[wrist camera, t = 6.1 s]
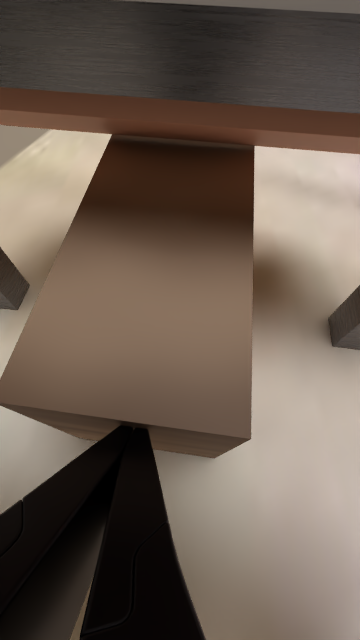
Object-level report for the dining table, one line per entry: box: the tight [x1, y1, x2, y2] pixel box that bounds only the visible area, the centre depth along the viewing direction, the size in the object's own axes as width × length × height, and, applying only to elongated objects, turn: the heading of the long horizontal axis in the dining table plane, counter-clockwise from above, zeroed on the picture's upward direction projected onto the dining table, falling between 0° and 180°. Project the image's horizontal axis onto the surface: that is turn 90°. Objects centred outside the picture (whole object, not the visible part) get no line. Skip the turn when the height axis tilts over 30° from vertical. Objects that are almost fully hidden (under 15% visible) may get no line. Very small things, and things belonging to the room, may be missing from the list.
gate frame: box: [0, 0, 360, 349], centre depth 12 cm, size 2×24×14 cm, turn 83°
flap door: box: [0, 87, 360, 154], centre depth 11 cm, size 1×18×6 cm
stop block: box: [0, 134, 254, 458], centre depth 14 cm, size 14×7×8 cm, turn 172°
